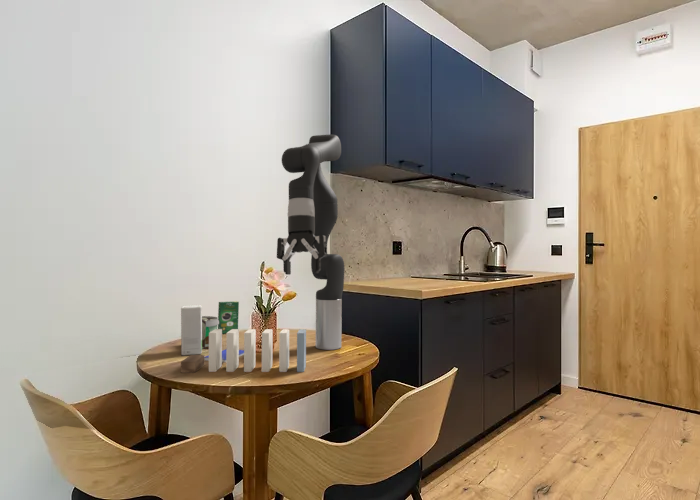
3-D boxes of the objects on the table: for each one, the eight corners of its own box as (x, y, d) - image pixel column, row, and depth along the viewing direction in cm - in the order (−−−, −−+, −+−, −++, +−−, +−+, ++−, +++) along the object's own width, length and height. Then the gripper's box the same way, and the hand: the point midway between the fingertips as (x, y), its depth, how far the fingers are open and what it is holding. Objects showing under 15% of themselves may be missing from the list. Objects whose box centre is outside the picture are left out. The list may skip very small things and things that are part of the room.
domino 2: (238, 366, 129) (238, 329, 129) (233, 371, 123) (233, 332, 123) (231, 366, 129) (232, 329, 129) (226, 371, 123) (226, 332, 123)
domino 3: (255, 366, 129) (255, 329, 129) (251, 371, 123) (251, 333, 123) (248, 366, 129) (248, 329, 129) (243, 371, 123) (244, 332, 123)
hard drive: (224, 358, 133) (247, 350, 145) (202, 356, 136) (226, 348, 148) (224, 364, 133) (247, 355, 145) (202, 361, 136) (226, 353, 148)
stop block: (204, 364, 130) (204, 354, 130) (195, 372, 122) (195, 361, 122) (190, 364, 130) (191, 354, 130) (180, 372, 122) (180, 361, 122)
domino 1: (221, 366, 129) (222, 329, 129) (215, 371, 123) (215, 332, 123) (215, 365, 129) (215, 328, 129) (208, 371, 123) (208, 332, 123)
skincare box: (201, 354, 143) (201, 307, 143) (179, 355, 141) (180, 308, 141) (202, 349, 151) (202, 304, 151) (182, 350, 149) (182, 304, 149)
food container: (223, 347, 153) (224, 319, 153) (206, 349, 150) (206, 320, 150) (213, 341, 163) (213, 315, 163) (196, 343, 160) (196, 316, 160)
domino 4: (272, 366, 129) (272, 329, 129) (268, 371, 123) (268, 333, 123) (265, 366, 129) (265, 329, 129) (261, 371, 123) (261, 333, 123)
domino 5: (289, 366, 129) (289, 329, 129) (286, 371, 123) (286, 333, 123) (282, 366, 129) (282, 329, 129) (279, 371, 123) (279, 333, 123)
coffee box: (236, 331, 184) (236, 300, 184) (238, 332, 181) (239, 301, 181) (217, 333, 179) (217, 301, 179) (219, 334, 177) (219, 302, 177)
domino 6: (305, 366, 129) (306, 329, 129) (303, 371, 123) (304, 333, 123) (299, 366, 129) (299, 329, 129) (296, 371, 123) (297, 333, 123)
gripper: (329, 216, 124) (330, 273, 122) (283, 220, 128) (284, 275, 126) (320, 211, 117) (321, 271, 115) (272, 215, 121) (272, 274, 119)
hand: (302, 273), depth 120 cm, fingers open, 8 cm apart
